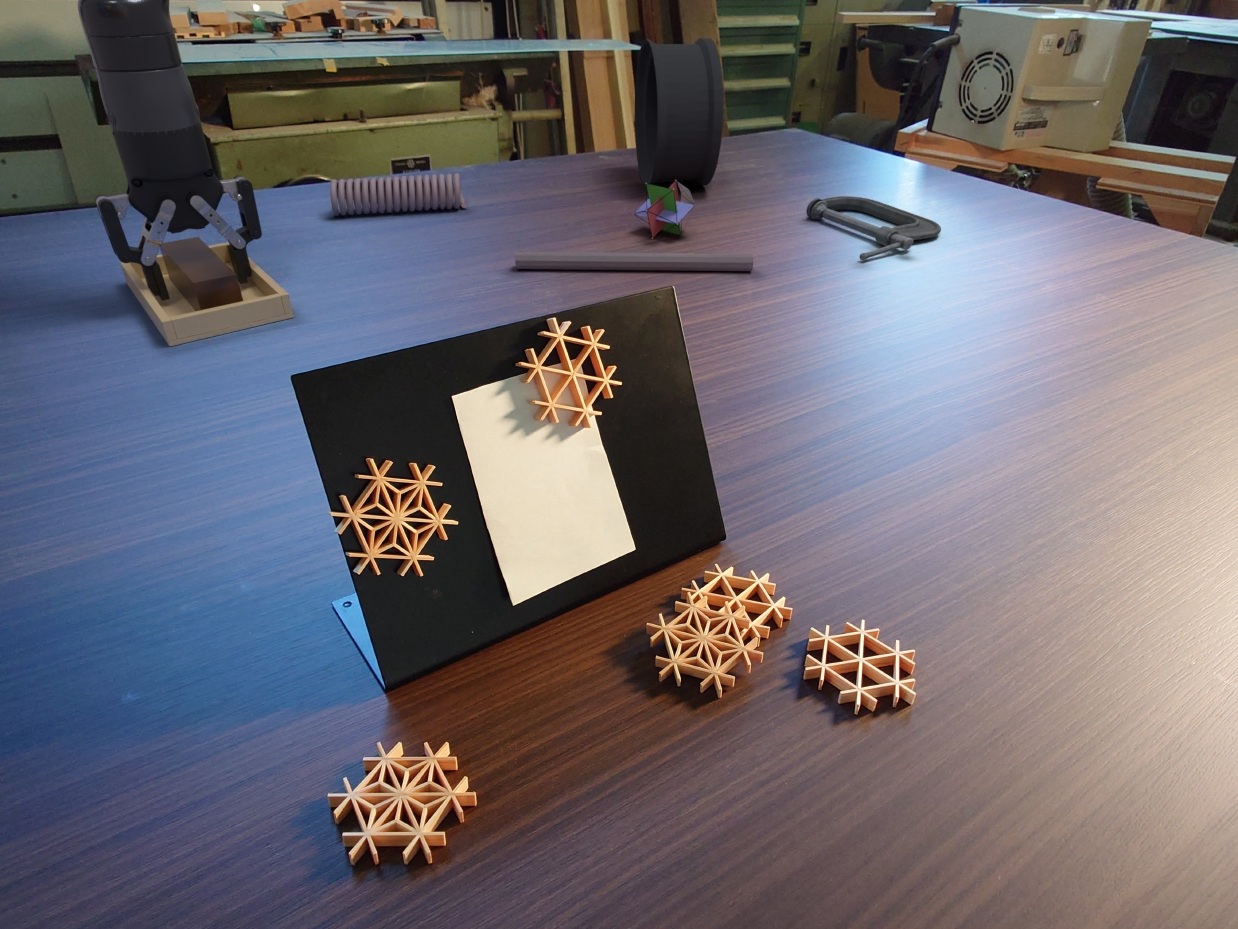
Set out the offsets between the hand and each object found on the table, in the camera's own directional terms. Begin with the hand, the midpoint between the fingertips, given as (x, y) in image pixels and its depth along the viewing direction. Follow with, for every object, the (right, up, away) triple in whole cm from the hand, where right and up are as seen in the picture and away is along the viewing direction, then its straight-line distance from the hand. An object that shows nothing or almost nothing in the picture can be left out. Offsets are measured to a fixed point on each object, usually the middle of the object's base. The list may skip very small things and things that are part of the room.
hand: (203, 289), depth 84 cm
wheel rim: (+52, +25, +41) cm, 70 cm away
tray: (0, -1, +1) cm, 1 cm away
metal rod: (+45, +4, +10) cm, 46 cm away
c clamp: (+76, +13, +23) cm, 80 cm away
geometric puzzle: (+49, +11, +21) cm, 54 cm away
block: (0, -1, 0) cm, 1 cm away
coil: (+13, +16, +28) cm, 35 cm away
